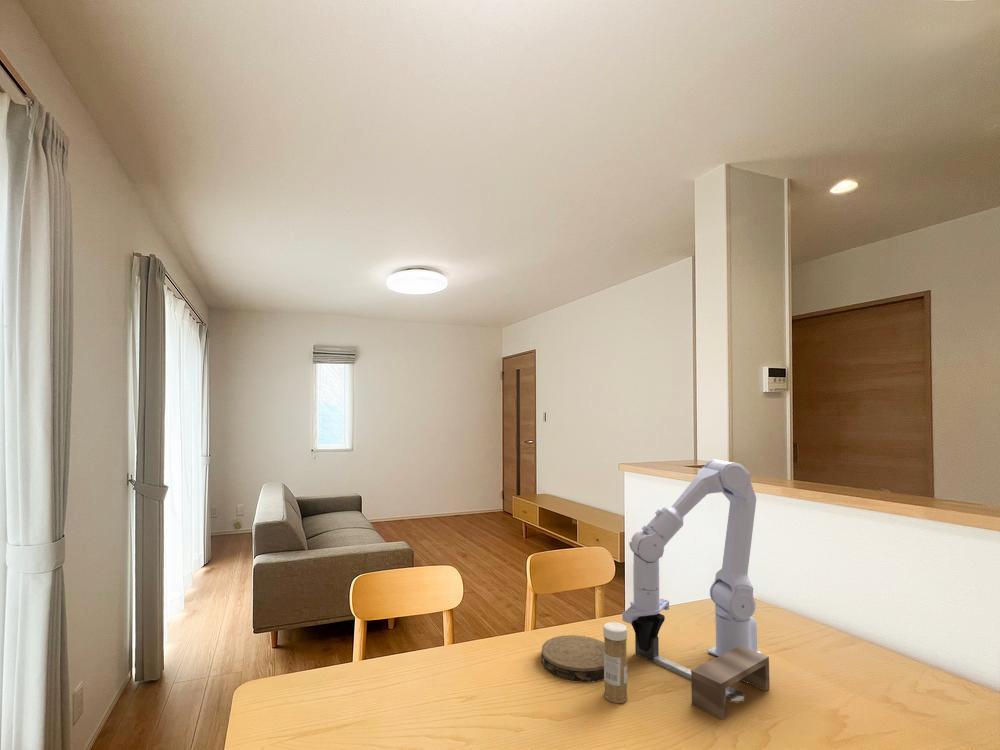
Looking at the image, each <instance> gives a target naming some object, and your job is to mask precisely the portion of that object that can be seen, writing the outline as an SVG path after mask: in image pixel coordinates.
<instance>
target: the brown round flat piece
mask: <svg viewBox="0 0 1000 750" xmlns="http://www.w3.org/2000/svg"><path fill="white" fill-rule="evenodd" d="M541 665H542V666H543V668H544V670H546V671H547V672H548V673H549V674H550V675H553V676H554V677H556V678H558V679H561V680H566V681H570V682H576V683H593V682H592V681H595V682H599V681H603V680H605V679H604V641H602V640H600V639H596V638H594V637H589V636H585V635H575V634H572V635H571V634H570V635H569V634H568V635H560V636H559V635H558V636H555V637H552V638H549V639H548V640H546V641H545V642H544V643H543V644H542V646H541ZM602 679H603V680H602ZM598 680H599V681H598Z"/></svg>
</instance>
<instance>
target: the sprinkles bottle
mask: <svg viewBox="0 0 1000 750" xmlns="http://www.w3.org/2000/svg"><path fill="white" fill-rule="evenodd" d="M602 630H603V632H602V633H603V638H604V640H603V642H604V679H603V680H604V692H603V696H604V698H605V699H606V700H607V701H608V702H609V703H610V702H611V703H613V704H623V703H625V702H626V701H627V700H628V698H629V696H628V695H629V694H628V660H627V658H628V656H627V652H628V651H627V640H628V639H627V638H628V627H627V626H626V625H625V624H623V623H620V622H617V621H616V622H615V621H613V622H612V621H611V622H609V621H608V622H606V623H605V624H603V629H602Z"/></svg>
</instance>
